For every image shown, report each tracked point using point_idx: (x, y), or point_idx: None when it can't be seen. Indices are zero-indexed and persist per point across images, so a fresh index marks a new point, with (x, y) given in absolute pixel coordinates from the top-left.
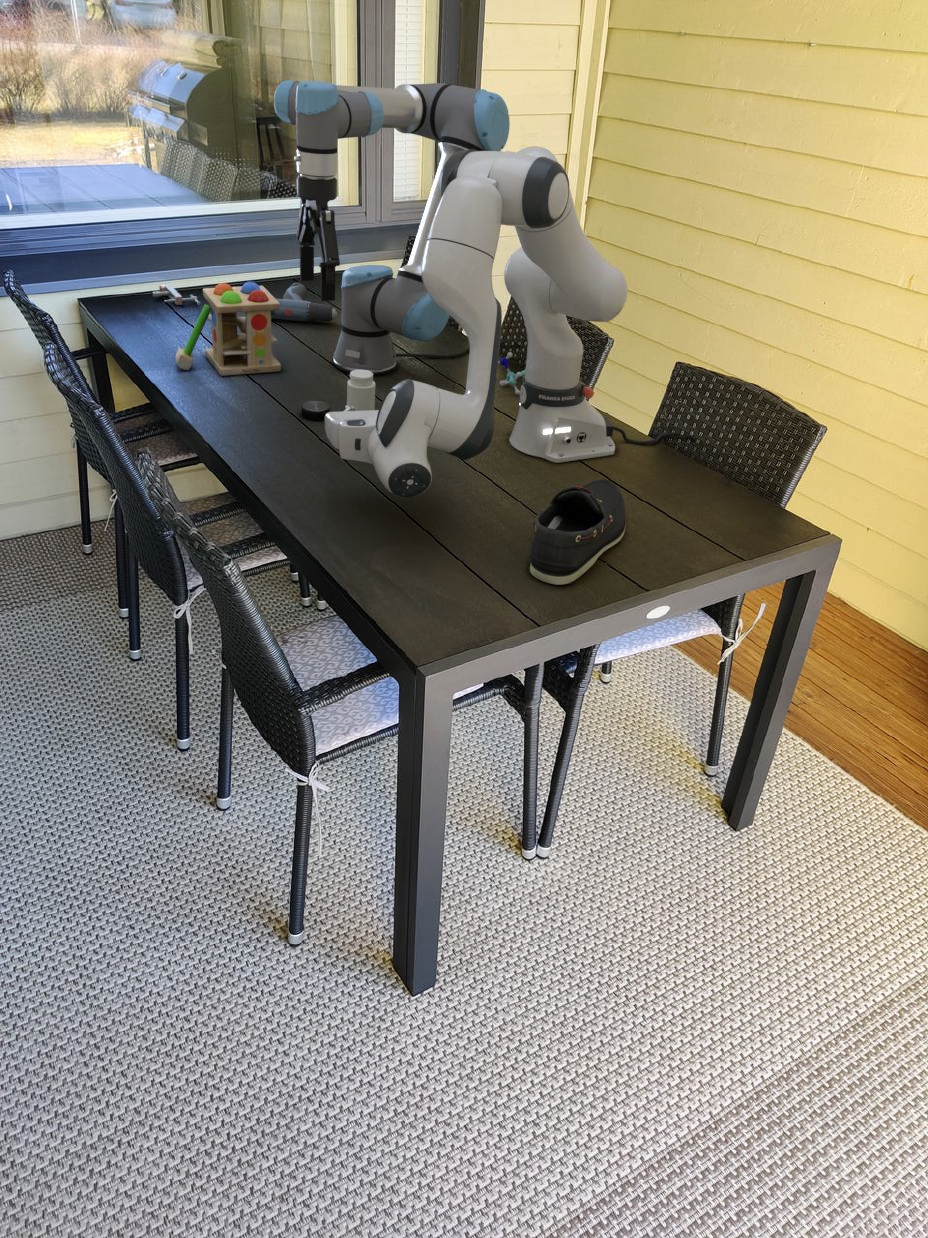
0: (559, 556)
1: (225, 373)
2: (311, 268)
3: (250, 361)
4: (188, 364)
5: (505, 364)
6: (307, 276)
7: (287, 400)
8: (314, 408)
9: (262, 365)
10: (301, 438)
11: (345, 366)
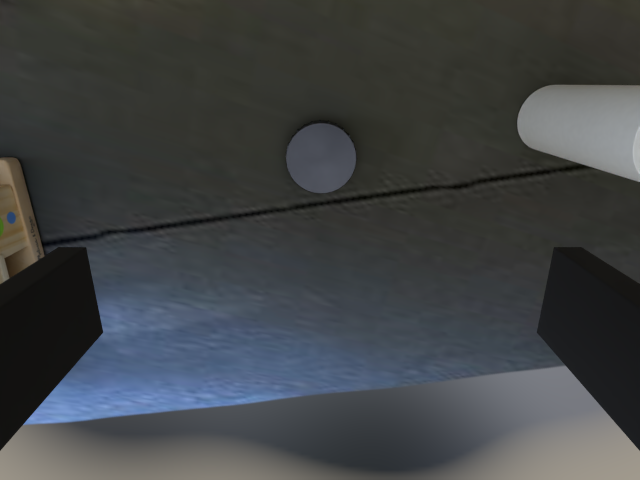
0: None
1: None
2: (36, 305)
3: (17, 246)
4: None
5: None
6: (81, 306)
7: (216, 194)
8: (335, 167)
9: (17, 211)
10: (435, 224)
11: None
